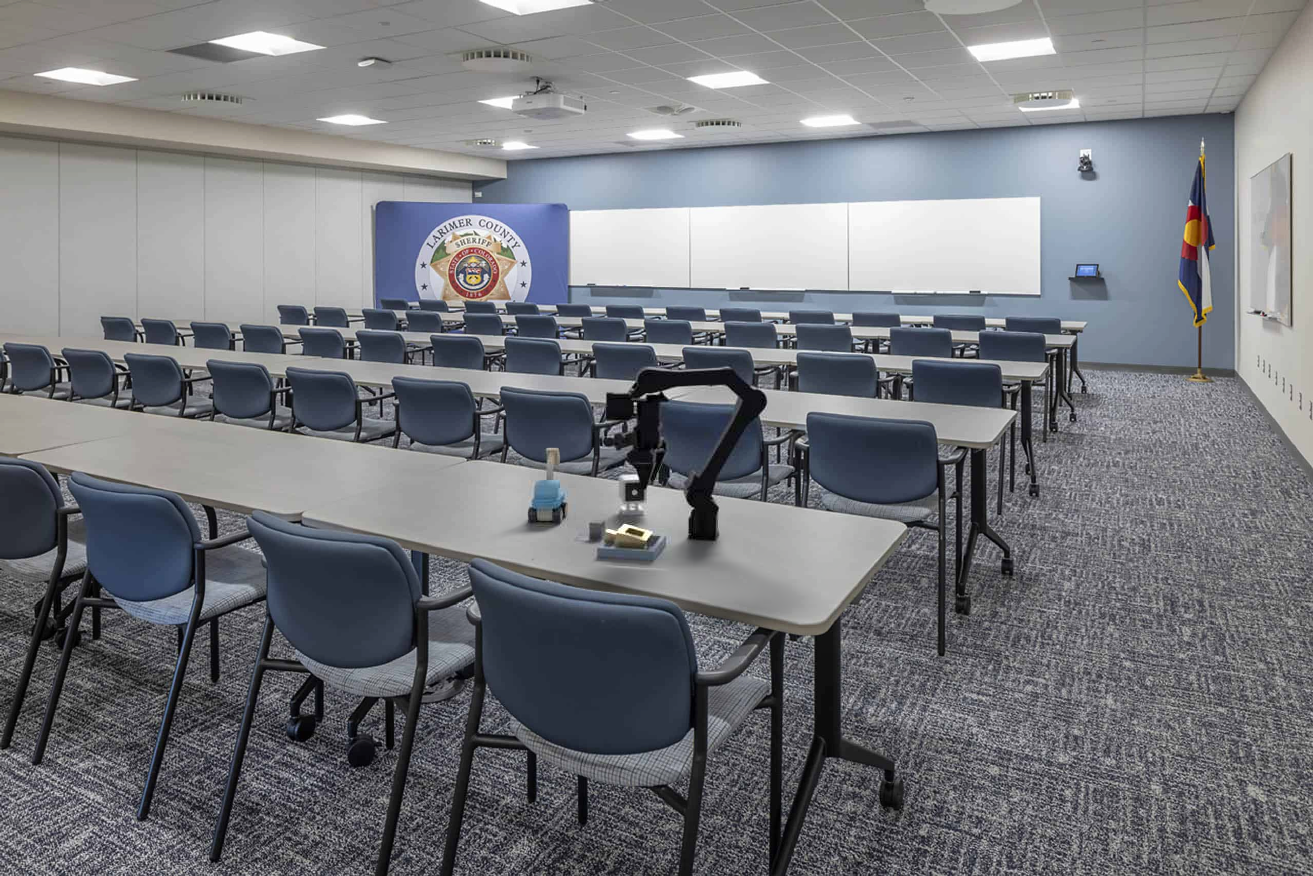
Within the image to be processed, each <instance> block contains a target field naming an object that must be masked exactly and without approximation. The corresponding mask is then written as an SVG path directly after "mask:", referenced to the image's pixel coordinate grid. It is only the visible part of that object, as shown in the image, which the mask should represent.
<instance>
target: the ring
mask: <svg viewBox="0 0 1313 876" xmlns="http://www.w3.org/2000/svg"><path fill="white" fill-rule="evenodd" d="M605 531H606V532H605V537H604V540H607V541H610V542H614V546H613V547H617V548H628V549H642V550H647V549H648V547H649V546H650V542H651V538H652V534H654V532H653V531H651V530H647V529H643V528H639V527H637V526H633V525H629V524H626V523H623V524H622V526H621V527H619V528H618V530H617V531H615V530H612V529H606V530H605Z"/></svg>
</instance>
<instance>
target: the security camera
mask: <svg viewBox="0 0 1313 876" xmlns="http://www.w3.org/2000/svg"><path fill="white" fill-rule="evenodd" d="M647 496H648V495H647V489H646V490H642V489H641V485H640V481H639V478H638V474H637V473H636V474H621V475H619V476H618V497H619V499H620V500H621V502H622V504H624V505H620V506H619V511H620V513H621V512H622V513H621V515H622V514H623V515H622V516H634V515H636V516H645V512H644V508H643V507H642V505H639V504H644V503H647ZM630 504H631V506H630ZM632 504H634V505H632Z"/></svg>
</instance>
